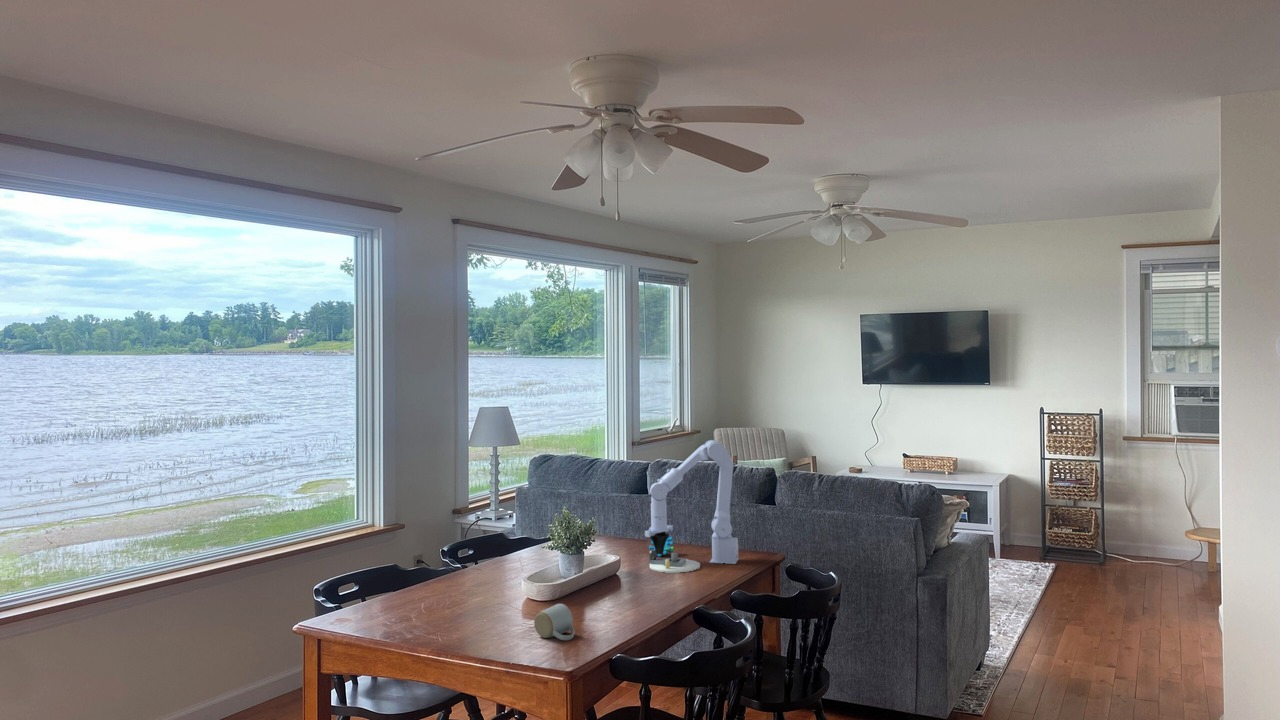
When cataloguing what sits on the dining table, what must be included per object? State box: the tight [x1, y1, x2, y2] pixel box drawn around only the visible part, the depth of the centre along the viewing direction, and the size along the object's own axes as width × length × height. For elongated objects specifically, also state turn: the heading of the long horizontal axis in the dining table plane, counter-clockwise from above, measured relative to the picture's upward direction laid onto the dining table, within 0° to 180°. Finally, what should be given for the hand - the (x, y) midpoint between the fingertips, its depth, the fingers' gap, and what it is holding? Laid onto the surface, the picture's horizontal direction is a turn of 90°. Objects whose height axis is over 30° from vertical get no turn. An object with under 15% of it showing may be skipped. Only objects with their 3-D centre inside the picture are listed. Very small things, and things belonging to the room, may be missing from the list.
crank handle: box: [649, 549, 687, 566], centre depth 311 cm, size 13×7×4 cm, turn 75°
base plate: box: [649, 552, 701, 574], centre depth 310 cm, size 18×18×5 cm
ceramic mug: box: [533, 603, 576, 641], centre depth 233 cm, size 11×8×8 cm
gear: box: [648, 536, 675, 558], centre depth 331 cm, size 11×6×10 cm
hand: (659, 553), depth 316 cm, fingers closed
